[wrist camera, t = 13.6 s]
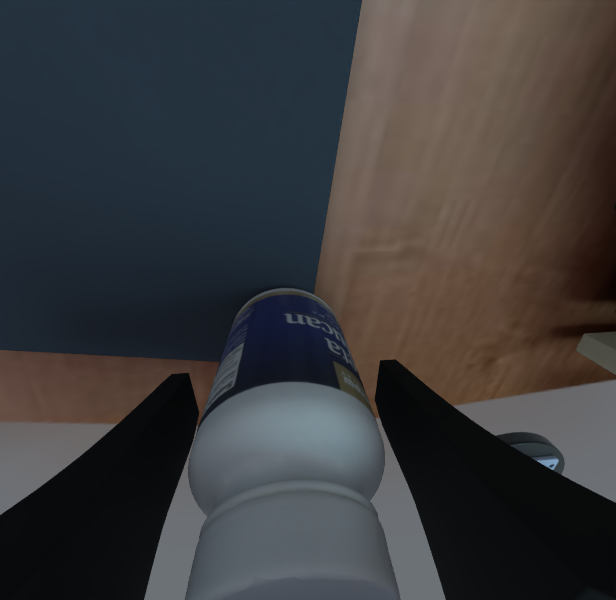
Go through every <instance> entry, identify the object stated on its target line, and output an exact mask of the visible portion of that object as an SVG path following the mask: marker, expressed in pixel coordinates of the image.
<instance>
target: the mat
mask: <svg viewBox="0 0 616 600" xmlns="http://www.w3.org/2000/svg"><path fill="white" fill-rule="evenodd" d="M361 3H362V0H0V350H14V351H32V352H51V353H70V354H88V355H107V356H125V357H144V358H162V359H181V360H199V361H218V362H220V361H221V358H222V355H223V352H224V349H225V346H226V343H227V340H228V336H229V333H230V330H231V328H232V325H233V322H234V320H235V318H236V316H237V314H238V313H239V311H240V310H241V309H242V307H243V306H244V305H245V304H246V303H247V302H248V301H250V300H251V299H252V298H254V297H255V296H257V295H259V294H261V293H263V292H266V291H269V290H272V289H278V288H294V289H299V290H304V291H306V292H309V293H312V294H314V288H315V282H316V276H317V269H318V263H319V257H320V251H321V245H322V239H323V233H324V227H325V221H326V215H327V209H328V203H329V197H330V191H331V185H332V179H333V173H334V167H335V160H336V154H337V148H338V142H339V136H340V130H341V124H342V118H343V112H344V106H345V100H346V94H347V88H348V82H349V76H350V70H351V64H352V58H353V51H354V45H355V39H356V33H357V27H358V21H359V15H360V9H361Z"/></svg>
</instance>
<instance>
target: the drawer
mask: <svg viewBox="0 0 616 600" xmlns="http://www.w3.org/2000/svg"><path fill="white" fill-rule="evenodd" d="M614 315H616V310H615V312H614ZM576 351H577V352H579V353H580V354H582V355H584V356H585V357H587V358H588V359H590V360H592V361H593V362H595V363H597V364H598V365H600V366H602V367H603V368H605V369H607V370H608V371H610V372H612V373H613V374H615V375H616V332H602V333H586V334H584V335H583V337H582V338H581V340H580V342H579V344H578V346H577V348H576Z"/></svg>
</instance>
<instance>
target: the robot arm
mask: <svg viewBox="0 0 616 600" xmlns="http://www.w3.org/2000/svg"><path fill="white" fill-rule="evenodd" d="M375 402H376V406H377V409H378V413H379V416H380V419H381V422H382V426H383V428H384V430H385V432H386V435H387V437H388V440H389V442H390V444H391V447H392V449H393V451H394V454H395V456H396V458H397V461H398V463H399V465H400V467H401V470H402V472H403V474H404V477H405V479H406V481H407V484H408V486H409V489H410V491H411V494H412V496H413V499H414V501H415V504H416V507H417V510H418V513H419V516H420V519H421V522H422V525H423V528H424V531H425V534H426V537H427V540H428V543H429V546H430V550H431V553H432V556H433V559H434V562H435V565H436V568H437V571H438V575H439V578H440V581H441V585H442V588H443V592H444V595H445V598H446V600H616V503H615V502H613V501H611V500H609V499H607V498H605V497H603V496H601V495H599V494H597V493H595V492H593V491H591V490H589V489H587V488H585V487H583V486H581V485H579V484H577V483H575V482H573V481H571V480H570V479H568V478H566V477H564V476H562V475H560V474H559V473H557V472H555V471H553V469H554V468H555V466H556V465H557V463H558V461H559V460H558V459H557V458H556V457H555V456H553V455H551V456H541V457H531V458H530V457H529V456H527V455H525V454H523V453H522V452H520V451H518V450H517V449H515V448H513V447H512V446H510V445H508V444H507V443H505V442H504V441H502V440H501V439H499V438H498V437H496V436H495V435H493V434H491V433H490V432H488V431H487V430H485V429H484V428H482V427H481V426H479V425H478V424H476V423H475V422H474V421H472V420H471V419H469V418H468V417H467V416H465V415H464V414H463V413H461V412H460V411H458V410H457V409H456V408H454V407H453V406H452V405H450V404H449V403H448V402H447V401H445V400H444V399H443V398H441V397H440V396H439V395H438V394H436V393H435V392H434V391H433V390H431V389H430V388H429V387H428V386H427V385H425V384H424V383H423V382H422V381H421V380H419V379H418V378H417V377H416V376H415V375H413V374H412V373H411V372H410V371H409V370H408V369H406V368H405V367H404V366H403V365H402V364H400V363H399V362H398V361H397V360H380V365H379V372H378V380H377V387H376V394H375ZM198 417H199V410H198V406H197V402H196V399H195V395H194V391H193V387H192V383H191V380H190V376H189V373H181V374H171V375H170V376H169V377H168V378H167V379H166V380H165V381H164V382H162V383H161V384H160V385H159V386H158V387H157V388H156V389H155V390H154V391H153V392H152V393H151V394H150V395H149V396H148V397H147V398H146V399H145V400H144V401H142V402H141V403H140V404H139V405H138V406H137V407H136V408H135V409H134V410H133V411H132V412H131V413H130V414H128V415H127V416H126V417H125V418H124V419H123V420H122V421H121V422H120V423H119V424H117V425H116V426H115V427H114V428H113V429H112V430H110V431H109V432H108V433H107V434H106V435H105V436H104V437H102V438H101V439H100V440H99V441H98V442H97V443H95V444H94V445H93V446H92V447H91V448H90V449H89V450H87V451H86V452H85V453H84V454H83V455H81V456H80V457H79V458H77V459H76V460H75V461H74V462H72V463H71V464H70V465H69V466H67V467H66V468H65V469H63V470H62V471H61V472H59V473H58V474H57V475H56V476H54V477H53V478H52V479H50V480H49V481H48V482H46V483H45V484H44V485H42V486H41V487H40V488H38V489H37V490H36V491H34V492H33V493H31V494H30V495H28V496H27V497H26V498H24V499H23V500H21V501H20V502H18V503H17V504H16V505H14V506H13V507H12V508H10V509H8V510H7V511H6V512H4V513H3V514H1V515H0V600H144V598H145V593H146V589H147V585H148V581H149V577H150V573H151V569H152V566H153V562H154V558H155V554H156V550H157V547H158V543H159V539H160V535H161V532H162V528H163V525H164V522H165V519H166V516H167V512H168V510H169V507H170V504H171V501H172V498H173V496H174V493H175V490H176V488H177V485H178V482H179V479H180V476H181V474H182V471H183V468H184V465H185V462H186V460H187V457H188V454H189V451H190V448H191V445H192V442H193V439H194V434H195V430H196V426H197V421H198Z"/></svg>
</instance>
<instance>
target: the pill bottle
mask: <svg viewBox="0 0 616 600" xmlns="http://www.w3.org/2000/svg"><path fill="white" fill-rule="evenodd" d="M384 465H385V452H384V445H383V441H382V437H381V434H380V431H379V429H378V425H377V422H376V419H375V416H374V414H373V411H372V408H371V406H370V403H369V401H368V398H367V395H366V392H365V389H364V387H363V384H362V382H361V379H360V376H359V373H358V371H357V369H356V367H355V364H354V361H353V359H352V356H351V353H350V351H349V348H348V346H347V343H346V340H345V338H344V335H343V333H342V330H341V327H340V325H339V322H338V320H337V318H336V316H335V314H334V312H333V311H332V310H331V308H330V307H329V306H328V305H327V304H326V303H325V302H324V301H323V300H322V299H320V298H319V297H317V296H315V295H314V294H312V293H309V292H306V291H304V290H299V289H294V288H278V289H272V290H269V291H266V292H263V293H261V294H259V295H257V296H255V297H254V298H252V299H251V300H250V301H248V302H247V303H246V304H245V305H244V306H243V307H242V309H241V310H240V311H239V313H238V314H237V316H236V318H235V320H234V322H233V325H232V328H231V330H230V333H229V336H228V340H227V343H226V346H225V349H224V352H223V355H222V358H221V361H220V363H219V366H218V370H217V373H216V376H215V379H214V382H213V385H212V388H211V391H210V394H209V397H208V400H207V403H206V406H205V409H204V412H203V415H202V418H201V421H200V424H199V426H198V430H197V434H196V438H195V441H194V444H193V447H192V450H191V454H190V458H189V466H188V477H189V484H190V488H191V491H192V494H193V496H194V499H195V501H196V502H197V504H198V506H199V507H200V508H201V510H202V511H203V512H204V513H205V514H206V515H207V516H208V517H207V519H206V520H205V522H204V524H203V526H202V529H201V532H200V536H199V542H198V545H197V548H196V551H195V556H194V560H193V565H192V569H191V574H190V578H189V582H188V588H187V592H186V597H185V600H400V595H399V590H398V586H397V582H396V578H395V574H394V571H393V567H392V563H391V560H390V556H389V552H388V547H387V543H386V539H385V534H384V531H383V528H382V526H381V523H380V522H379V519H378V514H377V512H376V510H375V508H374V506H373V505H372V503H371V502H370V500H371V499H372V497H373V496H374V494H375V493H376V491H377V489H378V487H379V485H380V482H381V479H382V476H383V471H384Z"/></svg>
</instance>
